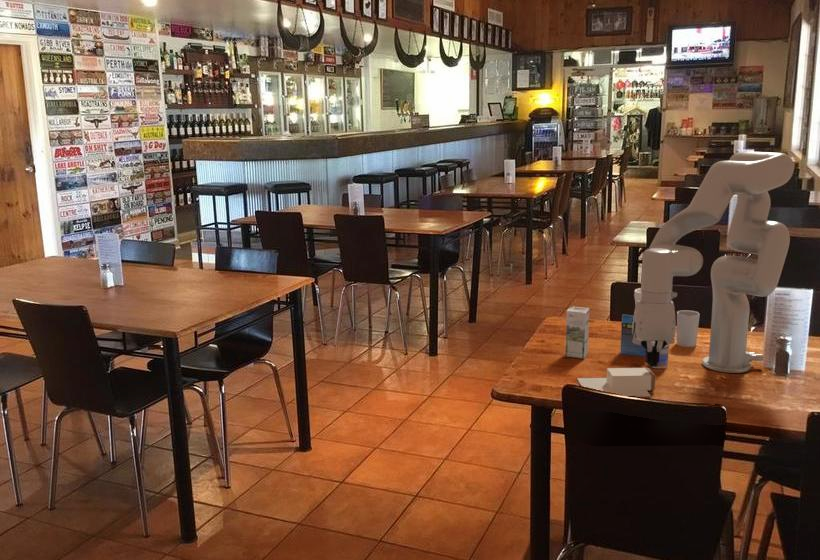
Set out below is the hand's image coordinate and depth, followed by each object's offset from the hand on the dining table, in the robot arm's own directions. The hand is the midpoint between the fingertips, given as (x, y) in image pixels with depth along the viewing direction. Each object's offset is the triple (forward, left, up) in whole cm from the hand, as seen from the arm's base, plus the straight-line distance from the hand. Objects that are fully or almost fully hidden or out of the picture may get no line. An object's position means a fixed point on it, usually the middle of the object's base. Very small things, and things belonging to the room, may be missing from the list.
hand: (651, 365), depth 194 cm
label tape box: (-4, -28, -7) cm, 29 cm away
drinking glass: (-22, -37, -7) cm, 44 cm away
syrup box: (+14, -27, -7) cm, 31 cm away
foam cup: (-15, -54, -6) cm, 56 cm away
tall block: (0, 0, -4) cm, 4 cm away
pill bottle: (-7, -17, -7) cm, 20 cm away
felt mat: (+10, 0, -6) cm, 12 cm away
